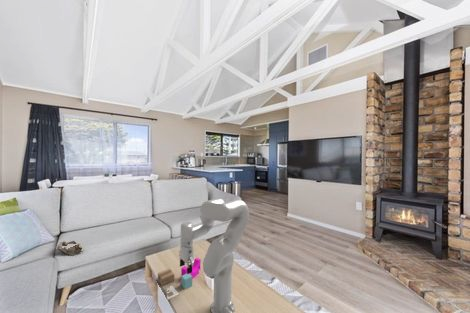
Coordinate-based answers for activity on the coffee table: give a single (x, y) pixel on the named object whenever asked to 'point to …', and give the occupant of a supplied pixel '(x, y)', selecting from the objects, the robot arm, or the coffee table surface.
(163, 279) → the base brick
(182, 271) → the magenta curved piece
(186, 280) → the teal cube
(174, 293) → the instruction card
